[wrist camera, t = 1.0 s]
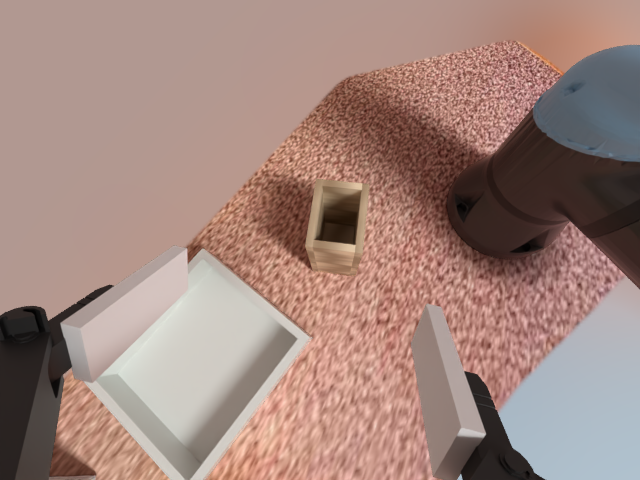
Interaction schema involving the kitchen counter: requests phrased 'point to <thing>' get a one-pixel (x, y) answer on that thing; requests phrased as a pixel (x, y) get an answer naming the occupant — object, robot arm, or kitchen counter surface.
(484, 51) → the kitchen counter surface
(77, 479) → the tea box
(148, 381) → the tray
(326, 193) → the box
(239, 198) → the kitchen counter surface
